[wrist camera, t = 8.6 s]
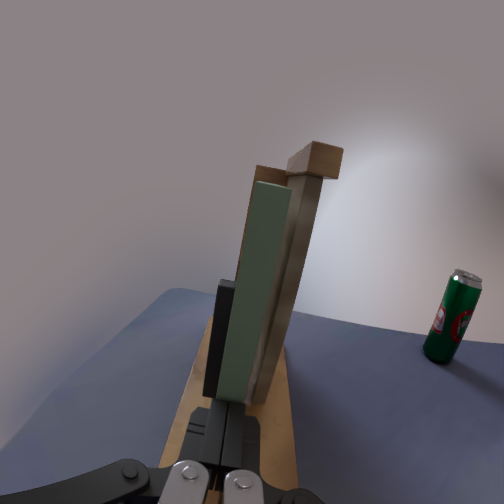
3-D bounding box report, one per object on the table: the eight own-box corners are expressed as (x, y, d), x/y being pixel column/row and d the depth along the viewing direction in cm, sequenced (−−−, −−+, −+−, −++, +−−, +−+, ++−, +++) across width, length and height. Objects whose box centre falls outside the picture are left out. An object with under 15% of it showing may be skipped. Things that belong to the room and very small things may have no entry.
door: (192, 463, 13) (233, 177, 9) (216, 359, 23) (248, 178, 20) (225, 469, 13) (292, 188, 9) (238, 363, 23) (275, 184, 20)
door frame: (140, 537, 8) (124, 17, 3) (208, 327, 32) (238, 151, 27) (295, 558, 8) (536, 141, 3) (278, 340, 32) (319, 167, 27)
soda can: (421, 343, 35) (450, 265, 32) (449, 352, 33) (480, 276, 30) (420, 358, 31) (455, 272, 28) (451, 369, 28) (488, 284, 25)
